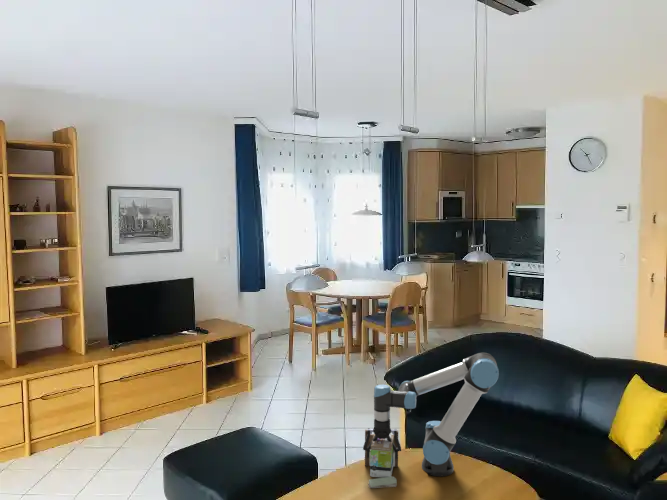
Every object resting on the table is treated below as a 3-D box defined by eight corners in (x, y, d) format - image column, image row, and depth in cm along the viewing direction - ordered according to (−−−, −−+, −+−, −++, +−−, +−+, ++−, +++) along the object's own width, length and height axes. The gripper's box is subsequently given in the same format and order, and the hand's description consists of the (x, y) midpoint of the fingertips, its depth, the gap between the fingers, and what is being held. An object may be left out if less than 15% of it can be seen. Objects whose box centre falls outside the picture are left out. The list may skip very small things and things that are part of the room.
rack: (397, 466, 270) (398, 430, 269) (397, 468, 268) (398, 432, 267) (364, 465, 271) (365, 429, 270) (364, 467, 269) (365, 431, 268)
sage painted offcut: (393, 479, 252) (393, 476, 252) (396, 483, 249) (396, 479, 249) (368, 482, 249) (368, 479, 249) (371, 486, 246) (371, 483, 246)
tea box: (391, 478, 252) (391, 447, 251) (369, 477, 254) (369, 445, 253) (394, 464, 266) (394, 434, 265) (373, 462, 268) (373, 432, 267)
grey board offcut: (394, 482, 252) (394, 479, 252) (396, 486, 249) (396, 483, 249) (368, 484, 251) (368, 481, 251) (370, 488, 247) (370, 484, 247)
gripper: (406, 416, 261) (406, 461, 263) (357, 415, 263) (358, 460, 264) (407, 422, 254) (407, 469, 255) (357, 420, 255) (357, 467, 257)
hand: (382, 464), depth 260 cm, fingers closed on tea box, 10 cm apart
